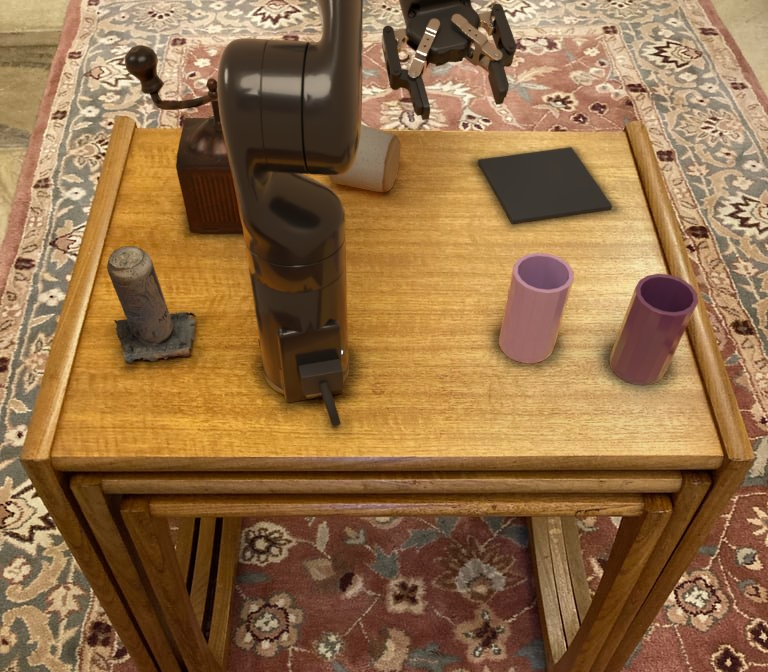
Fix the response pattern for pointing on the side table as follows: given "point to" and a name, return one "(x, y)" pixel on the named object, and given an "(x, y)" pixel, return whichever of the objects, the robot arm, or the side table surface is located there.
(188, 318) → the grey post on base
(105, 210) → the side table surface
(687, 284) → the plum cup
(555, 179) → the placemat
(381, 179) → the ceramic mug
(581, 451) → the side table surface
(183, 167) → the manual coffee grinder
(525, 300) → the lilac cup
